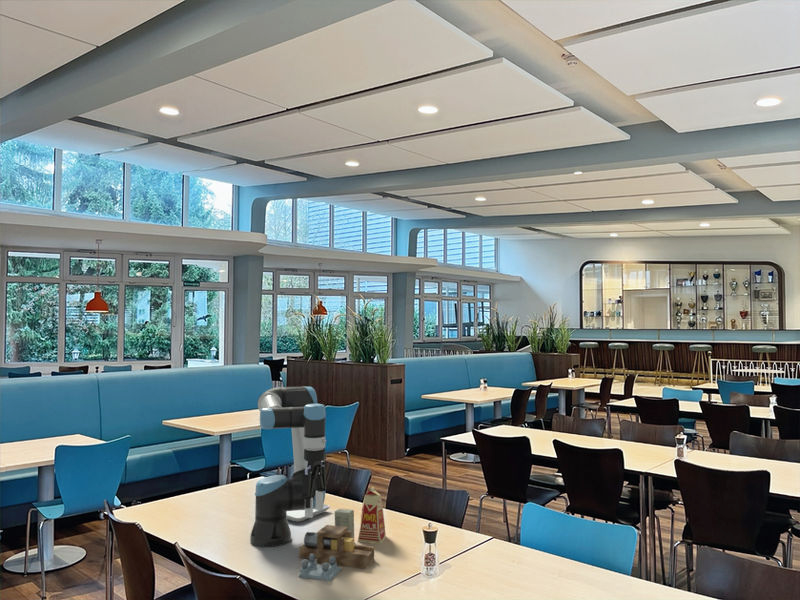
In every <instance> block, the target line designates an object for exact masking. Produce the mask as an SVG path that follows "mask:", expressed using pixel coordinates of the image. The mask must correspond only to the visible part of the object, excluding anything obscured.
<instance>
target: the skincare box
mask: <svg viewBox="0 0 800 600" xmlns="http://www.w3.org/2000/svg"><path fill="white" fill-rule="evenodd" d="M354 512H355V511H354V509H349V508H347V509H345V508H338V509H337V510H335V511H334V526H342V527H348V531H352V538H354V539H355V513H354Z"/></svg>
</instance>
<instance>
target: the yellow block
mask: <svg viewBox="0 0 800 600" xmlns="http://www.w3.org/2000/svg"><path fill="white" fill-rule="evenodd" d="M342 538H344V551H348V552H352V551H353V550H354V544H355V537H354V538H349V537H342ZM331 550H337V538H333V539H331Z"/></svg>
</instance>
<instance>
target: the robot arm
mask: <svg viewBox="0 0 800 600" xmlns="http://www.w3.org/2000/svg"><path fill="white" fill-rule="evenodd" d="M257 409H258V411H259V427H260V428H261V430H262V429H263V430H274V429H275V430H277V429H291V440H292V451H293V452H292V453H293V454H292V455H293V468H294V472H292V474H291V477H290V479H288V477H287V476H286V475H285V474H276V475H275V474H273V475H270V476H266V477H263V478H261V479H259V480H258V481H256V484H255V493H254V496H255V511H254V513H255V517H254V523H253V525H252V529H251V532H250V537H249V538H250V543H251V544H252V545H254V546H256V547H262V548H263V547H266V548H267V547H270V548H271V547H278V546H283V545H285V544H287V543H289V542H290V541H291V540H292V533H291V528H290V526H289V521H288V520H287V517H286V515H287V511H295V510H305V517H309V518H308V519H312V518H314V516H313V509H316V510H322V511H323V504H325V498H326V491H327V476H326V461H325V459H326V449H325V448H326V442H327V439H326V416H327V413H326V406H325V405H324V404H322V403H318V397H317V393H316V390H315V388H314V387H312V386H305V385H302V386H277V387H273V388H270V389H268V390H265V391H264V392H263V393H262V394H260V396H259V397H258V399H257Z"/></svg>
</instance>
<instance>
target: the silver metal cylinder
mask: <svg viewBox="0 0 800 600" xmlns="http://www.w3.org/2000/svg"><path fill="white" fill-rule="evenodd" d="M303 538H304V539H303V545H305V547H311V548H317V532H313V531H307V532H306V533H305V535H304V537H303ZM331 539H333V538H330V537H324V549H331Z"/></svg>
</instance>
